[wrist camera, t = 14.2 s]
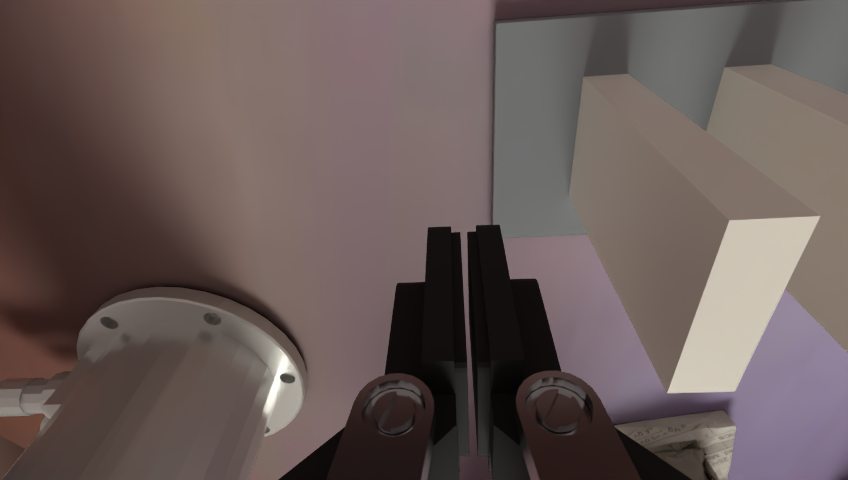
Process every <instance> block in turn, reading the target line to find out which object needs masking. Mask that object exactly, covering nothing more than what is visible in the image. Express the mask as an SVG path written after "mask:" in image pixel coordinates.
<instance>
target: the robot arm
mask: <svg viewBox="0 0 848 480" xmlns="http://www.w3.org/2000/svg"><path fill="white" fill-rule="evenodd" d="M467 239H468V287H469V325H470V341H471V357H472V373H473V388H474V404H475V420H476V435H477V450H478V456H488V464H489V472H492V480H692V479H691V478H689V477H688V476H686V475H685V474H683V473H682V472H680V471H679V470H677V469H676V468H674V467H673V466H671V465H670V464H668V463H667V462H665V461H664V460H662V459H661V458H659V457H658V456H657V455H655V454H654V453H652V452H651V451H649V450H648V449H646V448H645V447H643V446H642V445H640V444H639V443H637V442H636V441H634V440H633V439H631V438H630V437H628V436H627V435H625V434H624V433H622V432H621V431H620V430H618V429H617V428H615V427H614V425H613V423H612V421H611V419H610V417H609V415H608V413H607V411H606V409H605V408H604V406H603V404H602V402H601V400H600V398H599V397H598V395H597V394H596V392H595V391H594V389H593V388H592V387H591V386H589V385H588V384H587V383H586V382H585V381H583V380H582V379H580V378H578V377H576V376H574V375H572V374H570V373H565V372H561V369H560V365H559V361H558V357H557V353H556V350H555V346H554V342H553V338H552V334H551V330H550V327H549V323H548V319H547V315H546V311H545V308H544V304H543V300H542V296H541V292H540V289H539V285H538V282H537V280H536V279H510V277H509V271H508V266H507V261H506V255H505V250H504V244H503V239H502V234H501V228H500V225H477V226H476V232H467ZM76 346H77V357H78V361H79V362H78V364H77V365H76V366H75V367H74V368H73V370H72V371H64V372H61V373H58V374H56V375H55V376H53V377H52V378H51V379H43V378H18V379H5V380H3V381H1V382H0V416H30V415H34V414H38V413H44V415H45V417H44V419H43V421H42V422H41V428H40V432H39V433H38V435H37V436H36V437H35V438H34V440H33V441H32V442H31V443H30V445H29V446H28V447H27V448H26V450H25V451H24V452H23V454H22V455H21V456H20V457H19V459H18V460H17V461H16V462H15V464H14V465H13V466H12V467H11V469H10V470H9V471H8V472H7V474H6V475H5V476H4V477H3V479H2V480H249V479H250V476H251V473H252V470H253V467H254V464H255V461H256V458H257V455H258V452H259V449H260V446H261V443H262V440H263V438H264V437H266V436H269V435H271V434H274V433H276V432H278V431H279V430H281V429H282V428H284V427H286V426H287V425H288V424H289V423H290V422H291V421H292V420H293V419H294V418H295V417H296V416H297V414H298V412H299V411H300V409H301V407H302V404H303V401H304V397H305V394H306V390H307V372H306V368H305V364H304V361H303V359H302V358H301V356H300V354H299V352H298V350H297V348H296V347H295V346H294V345H293V343H292V342H291V341H290V340H289V339H288V337H287V336H286V335H285V334H284V333H283V332H282V331H281V330H279V329H278V328H277V327H276V326H275V325H274V324H272V323H271V322H270V321H269V320H267V319H266V318H264V317H263V316H261V315H259V314H258V313H256V312H255V311H253V310H251V309H250V308H248V307H245V306H243V305H241V304H239V303H237V302H234V301H232V300H230V299H227V298H224V297H221V296H218V295H214V294H211V293H208V292H204V291H198V290H192V289H187V288H181V287H151V288H143V289H136V290H132V291H129V292H126V293H123V294H120V295H117V296H115V297H114V298H112V299H110V300H109V301H107V302H105V303H104V304H102V305H101V306H100V307H99V309H98V310H97V311H96V312H95V313H94V314H93V315H92V316H91V317H90V318H89V319H88V320H87V321H86V323H85V324H84V326H83V327H82V329H81V330H80V332H79V336H78V340H77V345H76ZM459 456H469V419H468V381H467V353H466V333H465V314H464V295H463V277H462V258H461V239H460V232H454V233H451V227H428V237H427V256H426V275H425V282H415V283H398V284H397V286H396V292H395V300H394V308H393V315H392V323H391V331H390V338H389V346H388V354H387V361H386V369H385V375H384V376H380V377H378V378H376V379H374V380H372V381H371V382H369V383H368V384H367V385H366V386H365V387H364V388H363V389H362V390H361V391H360V392H359V394H358V395H357V397H356V399H355V401H354V403H353V406H352V409H351V411H350V414H349V417H348V420H347V423H346V425H345V427H344V428H343V429H342V430H341V431H339V432H338V433H337V434H336V435H334V436H333V437H332V438H331V439H329V440H328V441H327V442H326V443H324V444H323V445H322V446H320V447H319V448H318V449H317V450H315V451H314V452H313V453H312V454H310V455H309V456H308V457H307V458H305V459H304V460H303V461H302V462H300V463H299V464H298V465H296V466H295V467H294V468H293V469H291V470H290V471H289V472H288V473H286V474H285V475H284V476H283V477H281V478H280V479H279V480H459V472H460V469H459Z"/></svg>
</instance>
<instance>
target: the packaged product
mask: <svg viewBox="0 0 848 480" xmlns="http://www.w3.org/2000/svg"><path fill="white" fill-rule="evenodd" d="M614 427H615V428H617V429H618V430H620V431H621V432H622V433H624V434H625V435H627V436H628V437H630V438H631V439H633V440H634V441H636V442H637V443H639V444H640V445H642V446H643V447H645V448H646V449H648V450H649V451H651V452H652V453H654V454H655V455H657V456H658V457H659V458H661V459H662V460H664V461H665V462H667V463H668V464H670V465H671V466H673V467H674V468H676V469H677V470H679V471H680V472H682V473H683V474H685V475H686V476H688V477H689V478H691V479H692V480H728V471H729V469H730V464H731V456H732V452H733V445H734V436H735V432H736V425H735V423H734V422H733V421H732V420H731V419H730V417H729V416H728V415H727V414H726V413H725V411H724V410H722V411H712V412H704V413H697V414H690V415H682V416H675V417H668V418H660V419H652V420H644V421H638V422H632V423H626V424H619V425H614Z"/></svg>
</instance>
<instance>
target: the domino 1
mask: <svg viewBox="0 0 848 480" xmlns="http://www.w3.org/2000/svg"><path fill="white" fill-rule="evenodd" d="M569 199H570V201H571V203H572V205H573V207H574V209H575V211H576V213H577V215H578V217H579V219H580V220H581V222H582V224H583V226H584V228H585V230H586V232H587V234H588V236H589V238H590V240H591V242H592V244H593V246H594V248H595V250H596V252H597V254H598V256H599V258H600V260H601V262H602V264H603V266H604V268H605V270H606V272H607V274H608V276H609V278H610V280H611V282H612V284H613V286H614V288H615V290H616V292H617V294H618V296H619V298H620V300H621V302H622V304H623V306H624V308H625V310H626V312H627V314H628V316H629V318H630V320H631V322H632V324H633V326H634V328H635V330H636V332H637V334H638V336H639V338H640V340H641V342H642V344H643V346H644V348H645V350H646V352H647V354H648V356H649V358H650V360H651V362H652V364H653V366H654V368H655V370H656V372H657V374H658V376H659V378H660V380H661V382H662V384H663V386H664V388H665V390H666V392H667V393H698V392H735V390H736V388H737V386H738V384H739V382H740V380H741V378H742V376H743V373H744V371H745V369H746V367H747V365H748V363H749V361H750V359H751V357H752V355H753V353H754V351H755V349H756V347H757V345H758V343H759V341H760V339H761V337H762V335H763V333H764V331H765V329H766V326H767V324H768V322H769V320H770V318H771V316H772V314H773V312H774V310H775V308H776V306H777V304H778V302H779V300H780V298H781V296H782V294H783V292H784V290H785V288H786V286H787V284H788V282H789V280H790V277H791V275H792V273H793V271H794V269H795V267H796V265H797V263H798V261H799V259H800V257H801V255H802V253H803V251H804V249H805V247H806V245H807V243H808V241H809V239H810V237H811V235H812V233H813V231H814V228H815V226H816V224H817V222H818V220H819V218H820V215H819V214H817V213H816V212H814V211H813V210H812V209H810V208H809V207H808V206H806V205H805V204H804V203H802V202H801V201H800V200H798V199H797V198H795V197H794V196H793V195H791V194H790V193H789V192H787V191H786V190H785V189H783V188H782V187H781V186H779V185H778V184H777V183H775V182H774V181H772V180H771V179H770V178H768V177H767V176H766V175H764V174H763V173H762V172H760V171H759V170H758V169H756V168H755V167H753V166H752V165H751V164H749V163H748V162H747V161H745V160H744V159H743V158H741V157H740V156H739V155H737V154H736V153H735V152H733V151H732V150H730V149H729V148H728V147H726V146H725V145H724V144H722V143H721V142H720V141H718V140H717V139H716V138H714V137H713V136H711V135H710V134H709V133H707V132H706V131H705V130H703V129H702V128H701V127H699V126H698V125H697V124H695V123H694V122H693V121H691V120H690V119H688V118H687V117H686V116H684V115H683V114H682V113H680V112H679V111H678V110H676V109H675V108H674V107H672V106H671V105H669V104H668V103H667V102H665V101H664V100H663V99H661V98H660V97H659V96H657V95H656V94H655V93H653V92H652V91H651V90H649V89H648V88H646V87H645V86H644V85H642V84H641V83H640V82H638V81H637V80H636V79H634V78H633V77H632V76H630V75H629V74H617V75H602V76H587V77H583V82H582V91H581V99H580V107H579V115H578V123H577V132H576V140H575V148H574V156H573V164H572V173H571V181H570V189H569Z"/></svg>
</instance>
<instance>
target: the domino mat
mask: <svg viewBox="0 0 848 480" xmlns="http://www.w3.org/2000/svg"><path fill="white" fill-rule="evenodd" d="M767 64H771V65H774V66H777V67H779V68H782V69H784V70H787V71H789V72H792V73H794V74H797V75H799V76H802V77H804V78H807V79H809V80H812V81H815V82H817V83H820V84H822V85H825V86H827V87H830V88H832V89H835V90H837V91H840V92H842V93H845V94H847V95H848V0H767V1H753V2H740V3H727V4H713V5H700V6H686V7H673V8H660V9H646V10H633V11H619V12H606V13H593V14H579V15H566V16H552V17H539V18H526V19H512V20H499V21H494V87H493V157H492V225H500V228H501V234H502V238H521V237H542V236H564V235H585V234H587V232H586V230H585V228H584V226H583V224H582V222H581V220H580V219H579V217H578V215H577V213H576V211H575V209H574V207H573V205H572V203H571V201H570V199H569V189H570V181H571V173H572V164H573V156H574V148H575V140H576V132H577V123H578V115H579V107H580V99H581V91H582V82H583V77H587V76H602V75H617V74H629V75H630V76H632V77H633V78H634V79H636V80H637V81H638V82H640V83H641V84H642V85H644V86H645V87H646V88H648V89H649V90H651V91H652V92H653V93H655V94H656V95H657V96H659V97H660V98H661V99H663V100H664V101H665V102H667V103H668V104H669V105H671V106H672V107H674V108H675V109H676V110H678V111H679V112H680V113H682V114H683V115H684V116H686V117H687V118H688V119H690V120H691V121H693V122H694V123H695V124H697V125H698V126H699V127H701V128H702V129H703V130H705V131H706V130H707V126H708V123H709V119H710V116H711V112H712V109H713V105H714V102H715V98H716V95H717V92H718V88H719V85H720V81H721V78H722V74H723V71H724V67H737V66H752V65H767Z"/></svg>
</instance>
